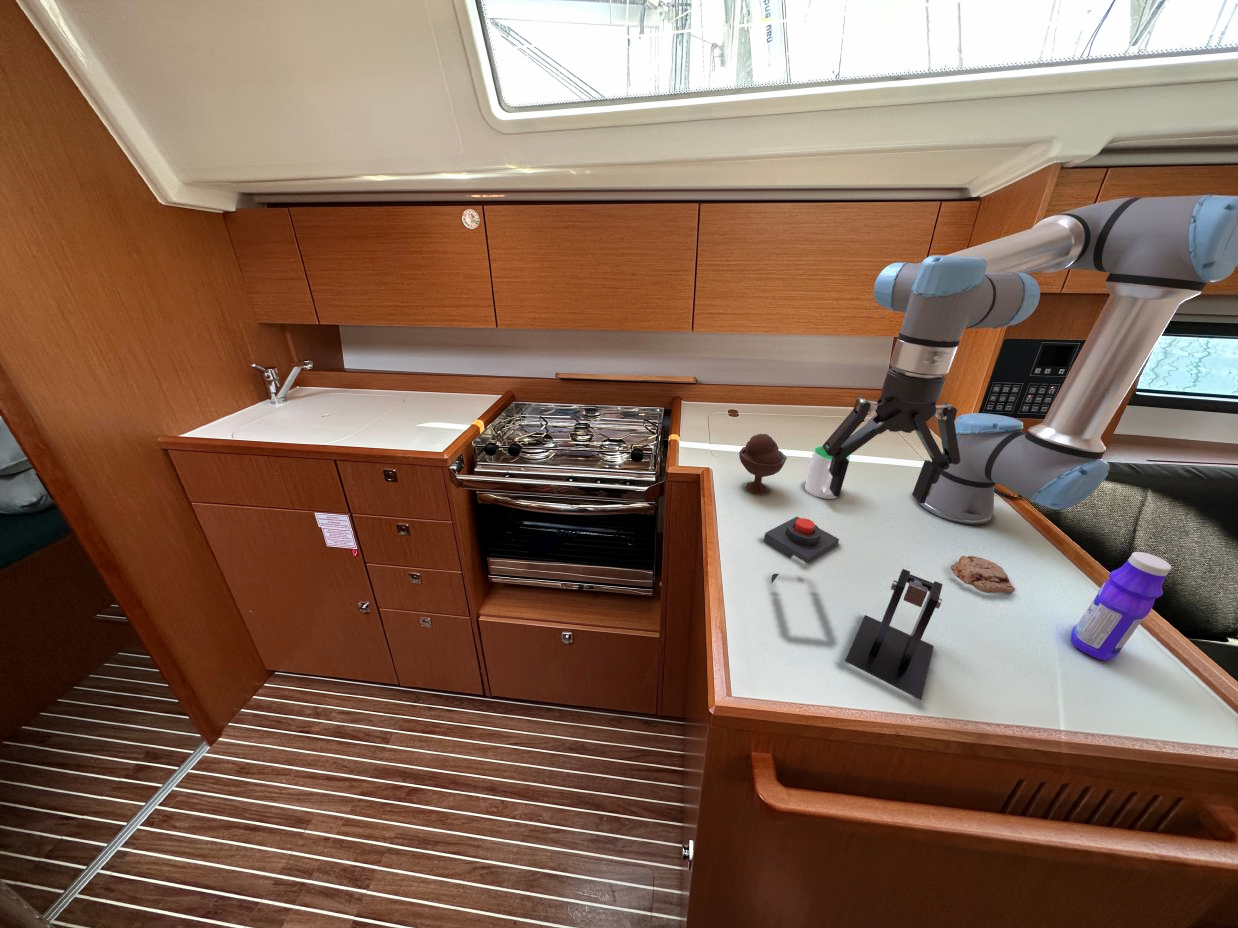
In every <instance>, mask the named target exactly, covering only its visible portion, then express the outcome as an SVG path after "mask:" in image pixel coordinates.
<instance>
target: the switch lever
mask: <svg viewBox="0 0 1238 928" xmlns="http://www.w3.org/2000/svg"><path fill="white" fill-rule="evenodd" d="M901 572H902V570H901V571H900V573H899V576H898V578H899V577H900V574H901ZM933 583H934V582H932V581H930V580H927V579H924V578H922V577H919V576H916V575H914V574H911V573H910V574H909V577H908V580H907V583H906V584H908V585H907V588H906V590H905V593H904V596H903V601H905V602H906V603H909V604H912V605H914V606H916V607H919V608H923V605H924V603H925V600H926V598H927V594H928V592H930V590H931V588H932V585H933Z"/></svg>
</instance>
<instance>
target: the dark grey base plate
mask: <svg viewBox="0 0 1238 928" xmlns="http://www.w3.org/2000/svg"><path fill="white" fill-rule="evenodd" d="M799 518H800V517H799V516H795V517H793V518H791V519H789V520H787V521H786V522H783V523H780V524H779V525H778V526H776V527H774V528H772V529H770V530H768V531H766V532H765V533H764V537H763V542H764V543H766V544H767V545H769V546H770V547H772V548H774V549H775V550H776V551H777V552H779V553H782V554H783V555H784V556H786V557H788V558H790V559H792V558H793V556H795V557H797V558H798V559H800V560H801V561H803V562H805V563H809V562H810V561H812V560H814V559H816V558H817V557H818V556H820V555H822V554H824V553H825V552H827V551H828V550H830V549H831V548H834V547H835V546H836V545H838V544H839V542H840V538H838V537H836V536H834V535H832V534H831V533H830V532H827V531H825V530H823V529H822V528H820V527H819V526H818V525H817V524H815V527H814V531H813V534H811V535H805V534H801V533H799V532H797V531H796V530H795V529H794V528H795V524H796V520H797V519H799Z"/></svg>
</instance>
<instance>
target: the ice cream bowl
mask: <svg viewBox="0 0 1238 928" xmlns="http://www.w3.org/2000/svg"><path fill="white" fill-rule="evenodd" d="M738 456H739V460H740V463H741V464H742V466H743V467H744V468H745V470H746V471H747V473H750V474H751V475H753V476H754V479H753V481H749V482H747V483H746V484H745V486H744V489H745V490H746V491H747V492H748V493H751V494H755V495H764V494H767V492H768V490H769V489H768V487H767V486H766V484H764V483H763V482H762V480H763V478H764V477H770V476H774V475H775V474H778V473H779V472H780V471H781V470H782V469H783V467H784V465H785V464H786V461H787V459H788V457H787V456H786V455H785V454H784V452H783V451H781V450H779V446H778V444H777V442H776V441H775V440H774V439H773V437H772V436H771V435H769V434H767V433H757V434H755V435H753V436H751V437H750V439H749V441H747V442H746V444H745V446H743V447H742V448H741V449H740V451H739V452H738Z"/></svg>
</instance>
